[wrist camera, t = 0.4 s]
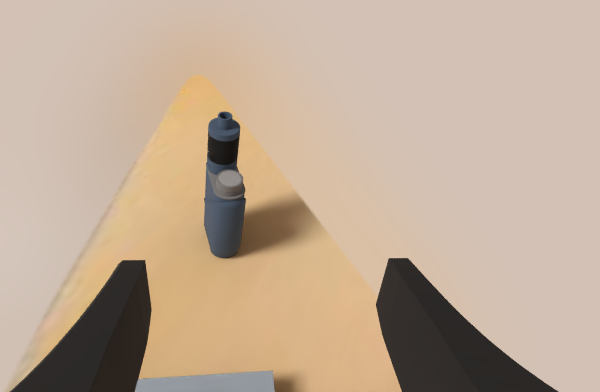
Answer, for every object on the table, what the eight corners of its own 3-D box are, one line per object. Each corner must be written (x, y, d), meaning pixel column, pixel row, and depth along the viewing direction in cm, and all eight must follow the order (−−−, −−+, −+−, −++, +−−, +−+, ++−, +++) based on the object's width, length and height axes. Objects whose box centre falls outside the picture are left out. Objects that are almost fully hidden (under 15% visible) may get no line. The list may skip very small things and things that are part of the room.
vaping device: (228, 214, 42) (238, 105, 34) (242, 257, 39) (256, 148, 31) (200, 217, 41) (204, 106, 33) (212, 262, 38) (219, 151, 30)
